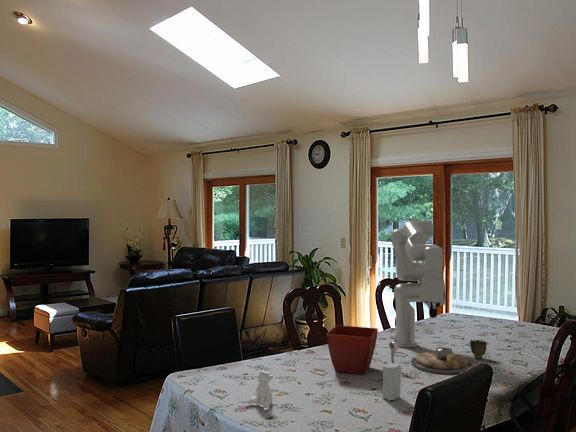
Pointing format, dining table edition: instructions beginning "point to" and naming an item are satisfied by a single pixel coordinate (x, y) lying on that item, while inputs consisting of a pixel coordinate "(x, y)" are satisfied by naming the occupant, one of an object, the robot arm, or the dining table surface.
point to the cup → (478, 348)
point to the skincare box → (391, 381)
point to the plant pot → (351, 348)
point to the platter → (441, 361)
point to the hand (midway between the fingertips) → (433, 317)
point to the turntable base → (439, 371)
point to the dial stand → (393, 347)
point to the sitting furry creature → (262, 390)
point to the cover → (443, 353)
